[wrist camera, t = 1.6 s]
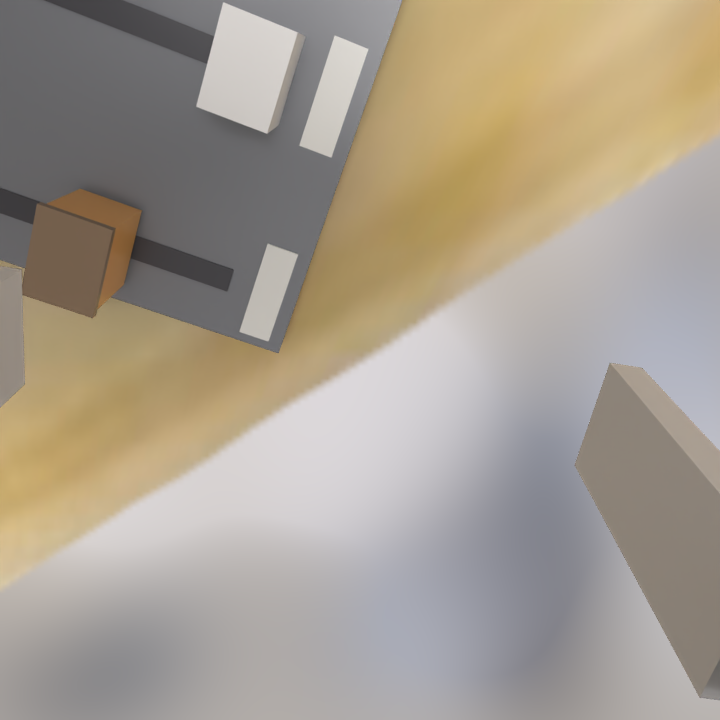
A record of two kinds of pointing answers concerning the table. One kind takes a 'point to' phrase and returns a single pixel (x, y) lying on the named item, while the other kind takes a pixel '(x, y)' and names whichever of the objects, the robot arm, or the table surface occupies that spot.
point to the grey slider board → (190, 138)
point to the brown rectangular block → (79, 251)
